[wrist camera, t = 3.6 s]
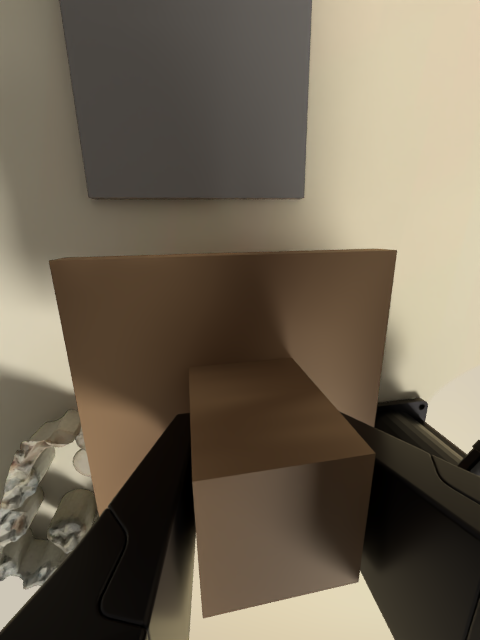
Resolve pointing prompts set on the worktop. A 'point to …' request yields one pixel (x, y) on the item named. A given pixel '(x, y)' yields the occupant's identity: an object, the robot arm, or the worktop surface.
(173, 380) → the lid
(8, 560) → the egg carton
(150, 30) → the mat
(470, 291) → the worktop surface
